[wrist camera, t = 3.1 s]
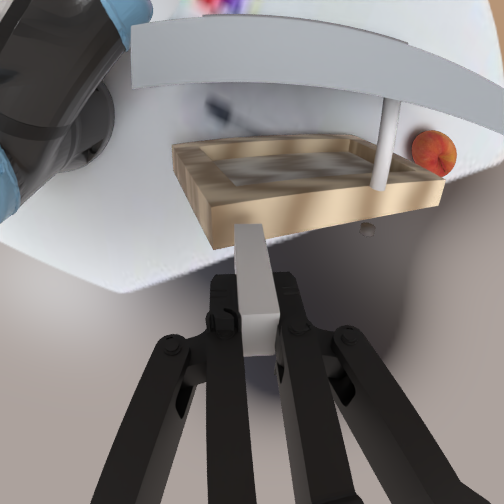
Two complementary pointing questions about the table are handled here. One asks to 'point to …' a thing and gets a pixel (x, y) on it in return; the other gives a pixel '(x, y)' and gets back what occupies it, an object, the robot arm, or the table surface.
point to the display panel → (313, 67)
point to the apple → (434, 152)
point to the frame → (294, 184)
